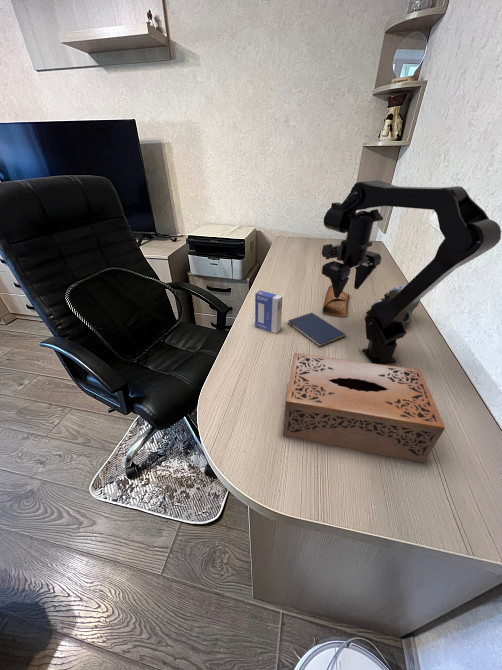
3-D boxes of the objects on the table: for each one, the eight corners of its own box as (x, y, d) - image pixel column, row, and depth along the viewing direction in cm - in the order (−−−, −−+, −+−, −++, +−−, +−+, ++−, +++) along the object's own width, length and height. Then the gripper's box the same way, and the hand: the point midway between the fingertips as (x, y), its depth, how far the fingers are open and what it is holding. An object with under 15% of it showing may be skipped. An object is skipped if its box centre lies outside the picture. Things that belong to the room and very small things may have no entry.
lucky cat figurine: (361, 308, 98) (383, 272, 94) (391, 322, 99) (414, 287, 95) (378, 319, 84) (405, 276, 80) (412, 335, 85) (440, 294, 81)
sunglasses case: (348, 316, 93) (340, 299, 90) (328, 322, 96) (320, 306, 94) (349, 294, 107) (343, 279, 105) (332, 300, 110) (325, 285, 108)
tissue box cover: (406, 403, 62) (421, 370, 56) (423, 463, 50) (445, 428, 45) (290, 385, 67) (294, 352, 61) (282, 435, 55) (285, 401, 50)
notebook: (344, 337, 84) (345, 333, 83) (319, 347, 80) (319, 343, 79) (311, 315, 95) (312, 312, 94) (287, 323, 90) (288, 320, 90)
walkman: (255, 326, 89) (255, 292, 82) (259, 322, 91) (259, 289, 84) (276, 333, 85) (278, 298, 79) (280, 329, 87) (283, 295, 81)
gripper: (352, 225, 80) (343, 276, 89) (309, 236, 71) (303, 292, 80) (389, 233, 73) (374, 288, 82) (345, 247, 64) (334, 307, 72)
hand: (346, 293), depth 79 cm, fingers open, 9 cm apart
